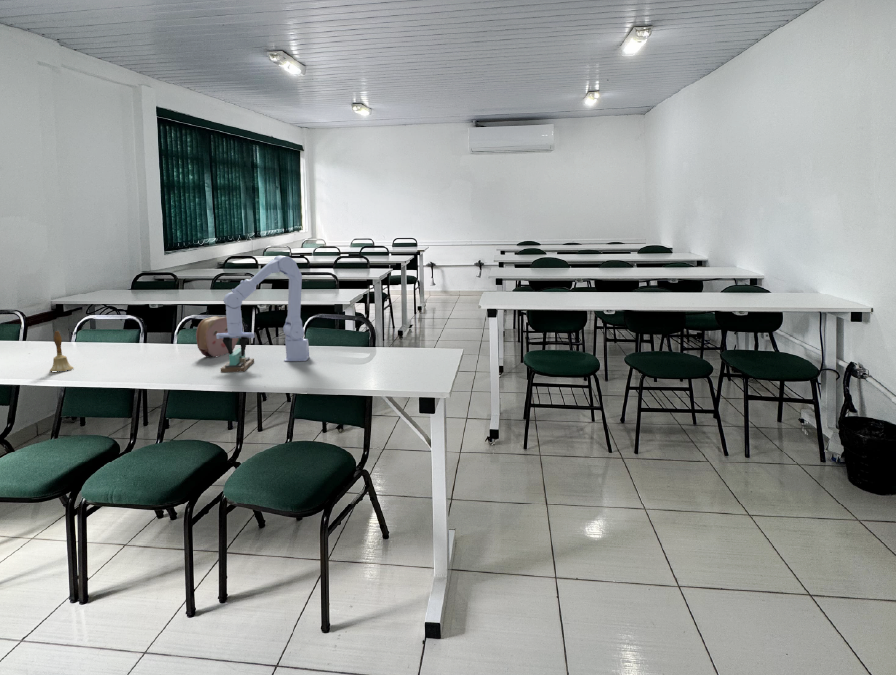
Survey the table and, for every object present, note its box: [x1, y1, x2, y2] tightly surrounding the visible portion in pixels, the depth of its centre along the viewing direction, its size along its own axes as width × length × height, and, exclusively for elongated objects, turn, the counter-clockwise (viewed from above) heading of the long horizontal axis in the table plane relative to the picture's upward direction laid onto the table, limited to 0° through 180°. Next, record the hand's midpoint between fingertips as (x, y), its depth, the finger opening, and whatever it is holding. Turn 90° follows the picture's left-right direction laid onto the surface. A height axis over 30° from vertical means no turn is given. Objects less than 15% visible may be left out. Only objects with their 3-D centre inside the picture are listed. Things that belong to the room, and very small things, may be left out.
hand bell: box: [49, 330, 74, 372], centre depth 238 cm, size 8×8×16 cm
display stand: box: [220, 356, 255, 373], centre depth 242 cm, size 16×9×4 cm, turn 4°
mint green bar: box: [228, 347, 246, 365], centre depth 241 cm, size 14×2×4 cm, turn 4°
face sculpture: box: [195, 315, 239, 358], centre depth 264 cm, size 20×7×17 cm, turn 160°
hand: (237, 355), depth 241 cm, fingers open, 4 cm apart
